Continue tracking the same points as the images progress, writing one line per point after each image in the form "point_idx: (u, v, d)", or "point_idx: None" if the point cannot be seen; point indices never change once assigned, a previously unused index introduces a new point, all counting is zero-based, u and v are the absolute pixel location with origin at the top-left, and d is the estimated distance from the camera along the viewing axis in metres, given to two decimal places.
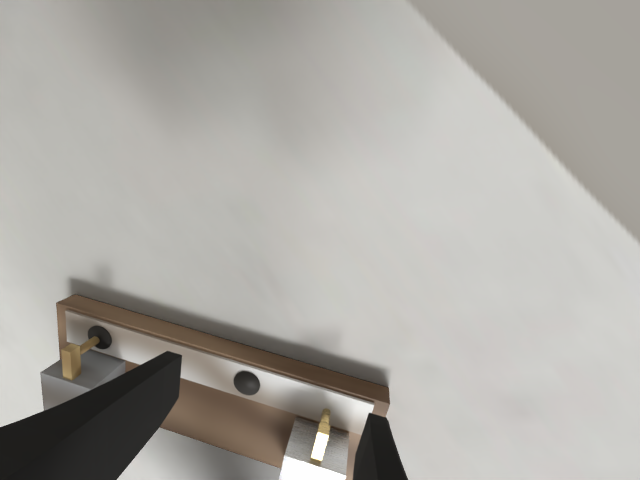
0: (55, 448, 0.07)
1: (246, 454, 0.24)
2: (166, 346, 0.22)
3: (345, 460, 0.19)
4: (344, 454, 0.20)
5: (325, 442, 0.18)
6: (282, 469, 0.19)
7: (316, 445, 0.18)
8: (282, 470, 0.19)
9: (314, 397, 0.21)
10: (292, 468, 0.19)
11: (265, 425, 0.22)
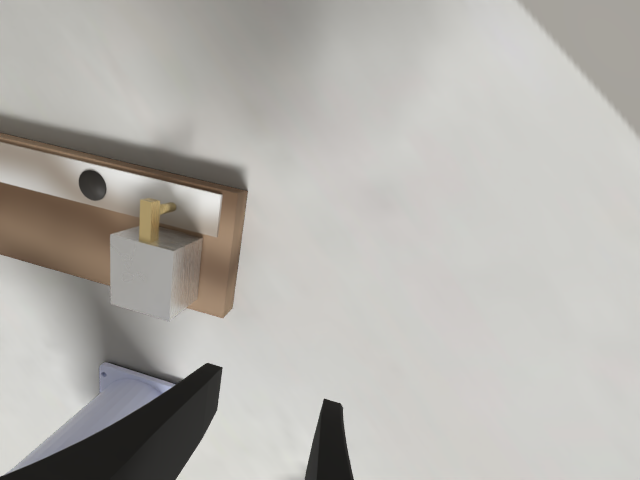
0: (120, 472, 0.06)
1: (107, 282, 0.22)
2: (8, 150, 0.20)
3: (182, 245, 0.18)
4: (184, 243, 0.18)
5: (149, 212, 0.16)
6: (111, 253, 0.17)
7: (141, 218, 0.17)
8: (111, 255, 0.17)
9: (161, 193, 0.19)
10: (120, 250, 0.17)
11: None
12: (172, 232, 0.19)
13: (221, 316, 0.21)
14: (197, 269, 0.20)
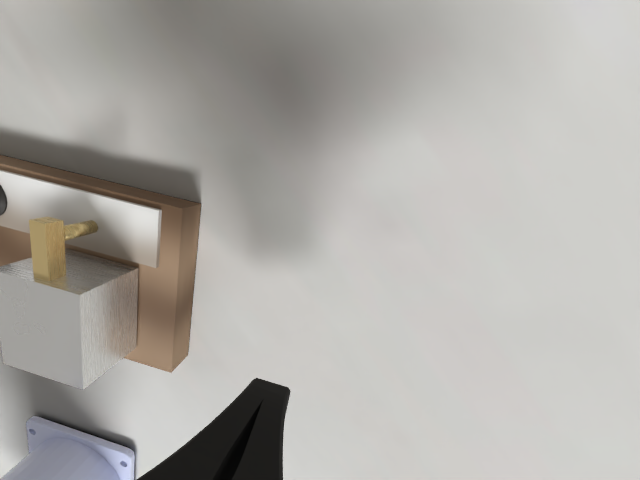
0: None
1: None
2: None
3: (99, 284, 0.12)
4: (104, 280, 0.13)
5: (44, 238, 0.11)
6: None
7: (34, 246, 0.11)
8: None
9: (78, 208, 0.14)
10: (7, 292, 0.12)
11: None
12: (96, 260, 0.14)
13: (169, 370, 0.16)
14: (133, 310, 0.15)
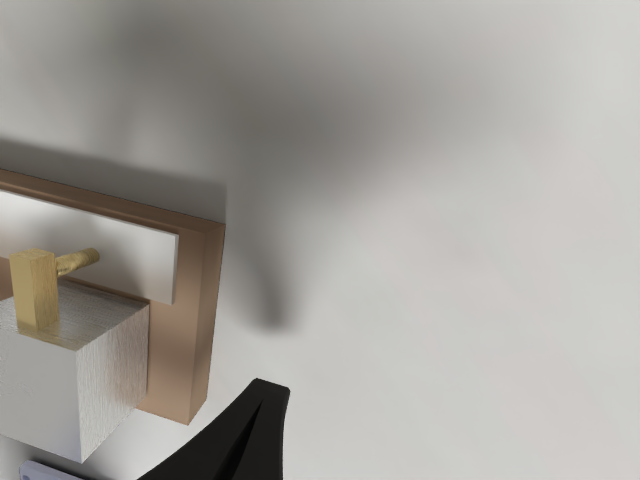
0: None
1: None
2: None
3: (101, 332, 0.10)
4: (108, 325, 0.10)
5: (29, 278, 0.09)
6: None
7: (16, 288, 0.09)
8: None
9: (75, 232, 0.11)
10: None
11: None
12: (97, 296, 0.11)
13: (185, 422, 0.13)
14: (142, 354, 0.12)
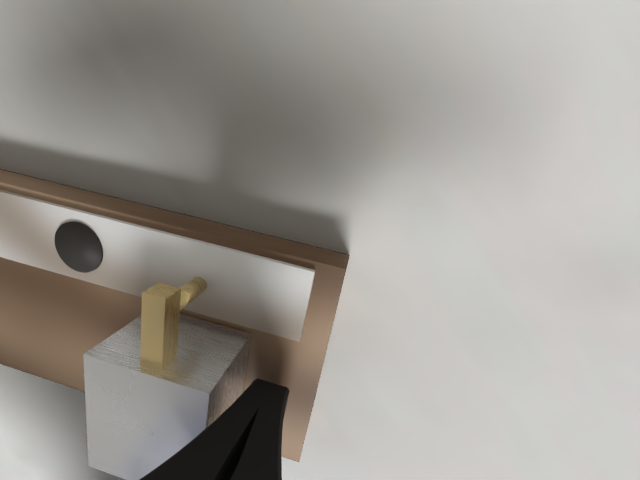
0: None
1: None
2: None
3: (222, 369, 0.09)
4: (225, 360, 0.10)
5: (161, 317, 0.08)
6: (87, 387, 0.09)
7: (145, 327, 0.08)
8: (87, 390, 0.09)
9: (200, 265, 0.11)
10: (104, 383, 0.09)
11: None
12: (199, 325, 0.11)
13: (297, 459, 0.12)
14: (241, 384, 0.11)
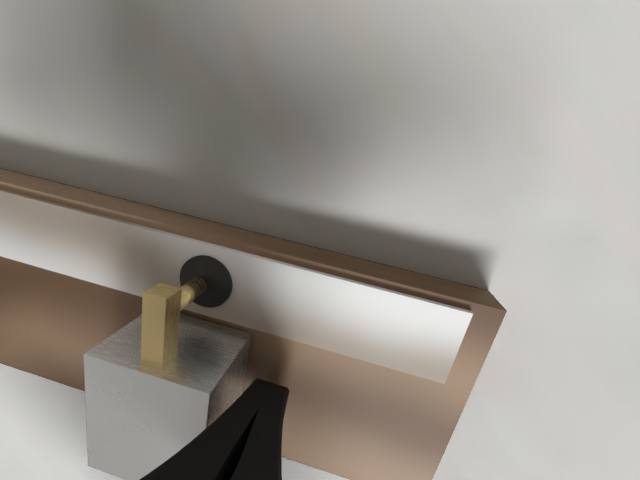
0: None
1: None
2: (49, 214, 0.11)
3: (222, 369, 0.09)
4: (225, 360, 0.10)
5: (162, 317, 0.08)
6: (87, 387, 0.09)
7: (146, 327, 0.08)
8: (87, 390, 0.09)
9: (342, 303, 0.10)
10: (104, 383, 0.09)
11: None
12: (199, 325, 0.11)
13: None
14: (241, 385, 0.11)
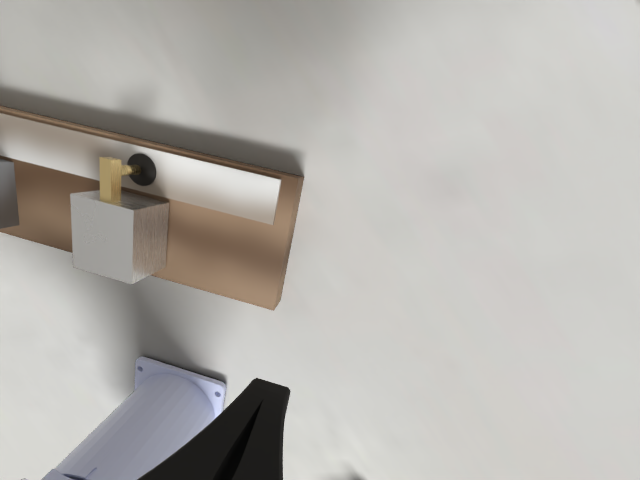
0: None
1: None
2: (52, 132, 0.19)
3: (144, 207, 0.17)
4: (147, 205, 0.18)
5: (109, 170, 0.16)
6: (72, 214, 0.17)
7: (101, 176, 0.16)
8: (72, 216, 0.17)
9: (215, 178, 0.18)
10: (80, 210, 0.17)
11: (168, 229, 0.20)
12: (138, 196, 0.19)
13: (272, 308, 0.20)
14: (164, 235, 0.20)
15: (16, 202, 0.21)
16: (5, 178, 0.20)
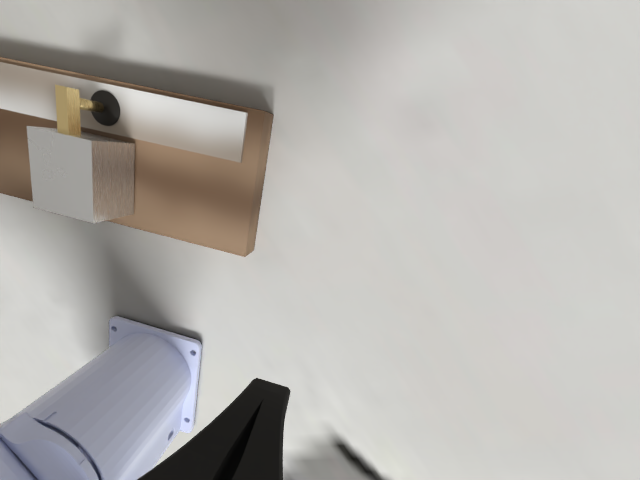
0: None
1: (120, 220, 0.20)
2: (13, 72, 0.19)
3: (105, 141, 0.17)
4: (109, 141, 0.17)
5: (65, 98, 0.16)
6: (29, 148, 0.16)
7: (58, 106, 0.16)
8: (30, 150, 0.16)
9: (180, 114, 0.17)
10: (38, 144, 0.16)
11: (134, 173, 0.19)
12: (102, 137, 0.18)
13: (243, 254, 0.19)
14: (130, 178, 0.19)
15: None
16: None
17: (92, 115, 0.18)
